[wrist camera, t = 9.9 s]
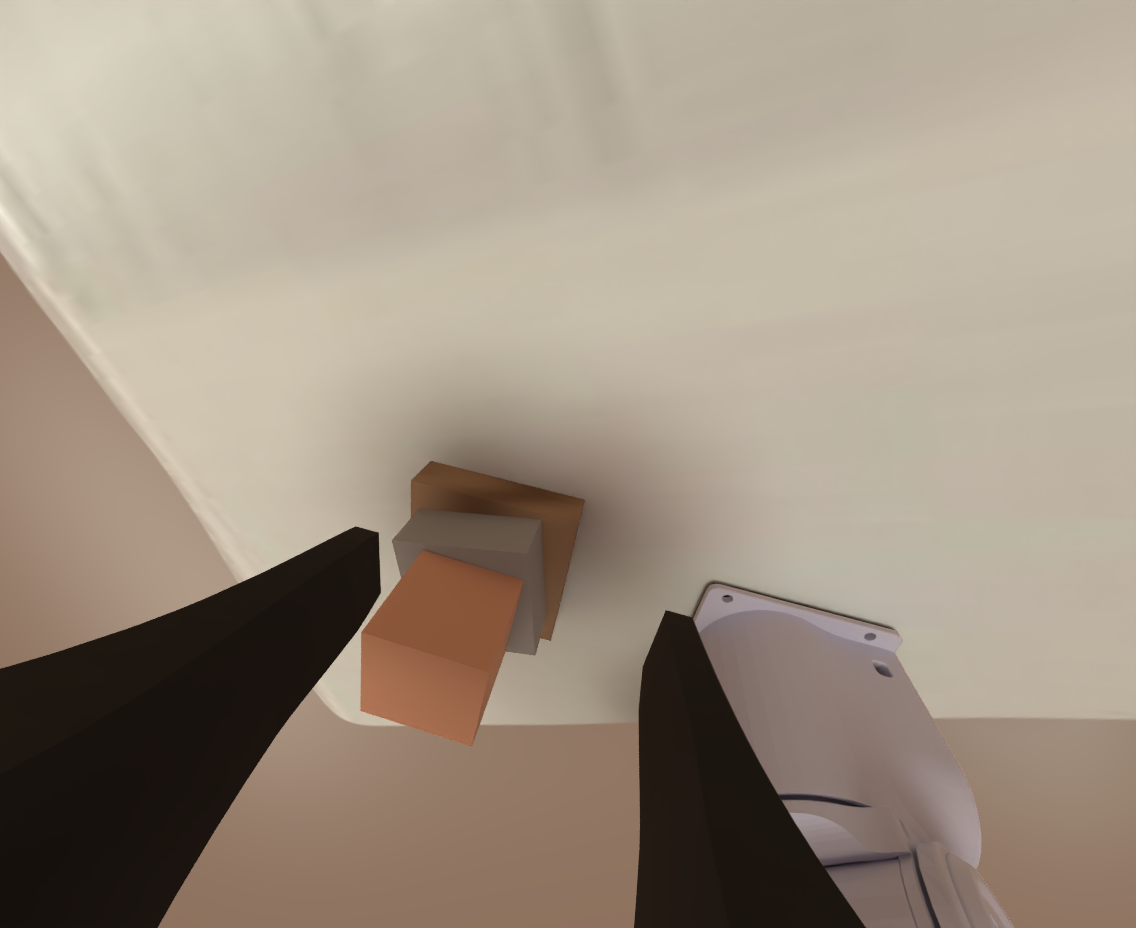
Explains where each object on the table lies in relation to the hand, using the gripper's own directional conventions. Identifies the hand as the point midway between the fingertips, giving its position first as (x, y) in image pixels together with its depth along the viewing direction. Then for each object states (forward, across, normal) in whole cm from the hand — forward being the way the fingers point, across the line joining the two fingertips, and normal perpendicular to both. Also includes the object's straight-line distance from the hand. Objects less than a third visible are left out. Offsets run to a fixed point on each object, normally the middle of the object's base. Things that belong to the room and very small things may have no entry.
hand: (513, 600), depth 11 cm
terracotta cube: (+6, +3, +7) cm, 10 cm away
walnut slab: (+11, +3, +7) cm, 14 cm away
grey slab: (+8, +3, +7) cm, 12 cm away
